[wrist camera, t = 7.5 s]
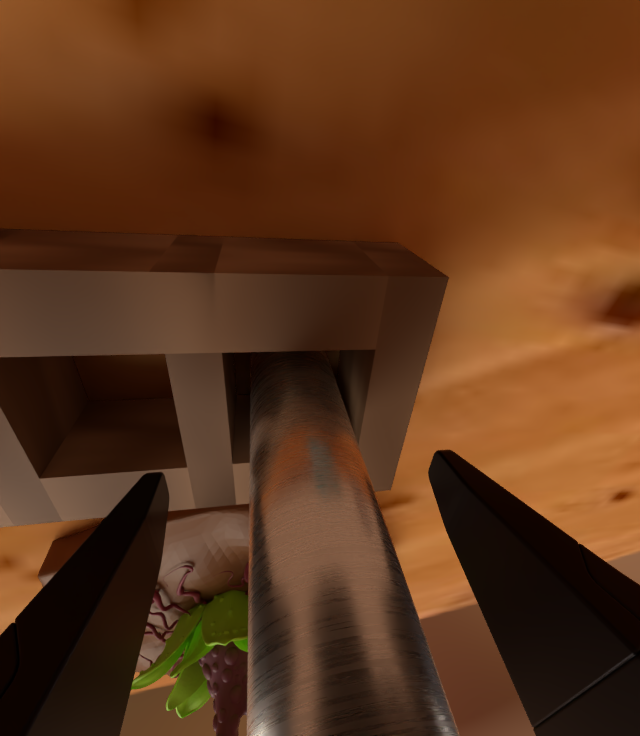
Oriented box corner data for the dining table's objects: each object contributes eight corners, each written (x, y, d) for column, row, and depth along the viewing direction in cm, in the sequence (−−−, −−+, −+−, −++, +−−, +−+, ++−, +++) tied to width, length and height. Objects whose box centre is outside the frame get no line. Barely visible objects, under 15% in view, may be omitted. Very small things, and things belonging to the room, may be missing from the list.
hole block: (-103, 453, 14) (-212, 547, 11) (-297, 218, 9) (-598, 258, 6) (364, 425, 18) (390, 489, 14) (398, 242, 13) (448, 277, 10)
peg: (252, 379, 15) (250, 835, 5) (249, 316, 13) (239, 800, 4) (319, 377, 16) (436, 787, 6) (324, 316, 14) (500, 738, 4)
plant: (352, 431, 18) (454, 722, 9) (389, 591, 29) (452, 798, 20) (-15, 534, 18) (-299, 946, 9) (160, 658, 29) (117, 900, 20)
